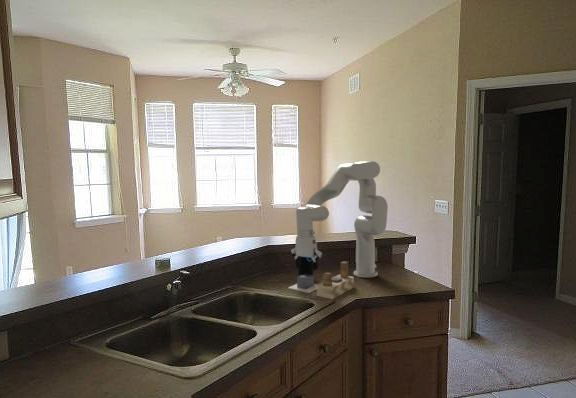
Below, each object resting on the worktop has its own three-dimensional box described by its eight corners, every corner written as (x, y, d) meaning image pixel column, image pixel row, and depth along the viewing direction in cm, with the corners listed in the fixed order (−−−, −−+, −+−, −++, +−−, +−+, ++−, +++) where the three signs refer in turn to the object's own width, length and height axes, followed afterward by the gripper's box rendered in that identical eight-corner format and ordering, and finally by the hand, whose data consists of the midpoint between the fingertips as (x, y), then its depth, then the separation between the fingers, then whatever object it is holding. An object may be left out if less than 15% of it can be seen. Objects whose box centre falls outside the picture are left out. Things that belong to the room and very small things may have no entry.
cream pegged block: (339, 284, 185) (338, 260, 185) (353, 287, 181) (353, 262, 180) (316, 295, 170) (316, 269, 169) (332, 299, 165) (332, 272, 164)
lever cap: (305, 283, 186) (305, 272, 186) (314, 285, 183) (313, 273, 183) (297, 287, 180) (297, 275, 180) (305, 289, 177) (305, 277, 177)
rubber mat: (302, 282, 190) (302, 281, 190) (322, 286, 183) (322, 285, 183) (288, 288, 181) (288, 287, 181) (308, 293, 173) (308, 292, 173)
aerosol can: (295, 280, 194) (294, 241, 192) (301, 276, 201) (300, 238, 200) (310, 281, 191) (310, 242, 189) (315, 277, 198) (315, 239, 197)
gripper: (324, 232, 178) (326, 268, 179) (295, 230, 188) (296, 264, 190) (316, 235, 172) (317, 272, 173) (285, 233, 182) (287, 268, 184)
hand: (306, 268), depth 182 cm, fingers open, 9 cm apart
